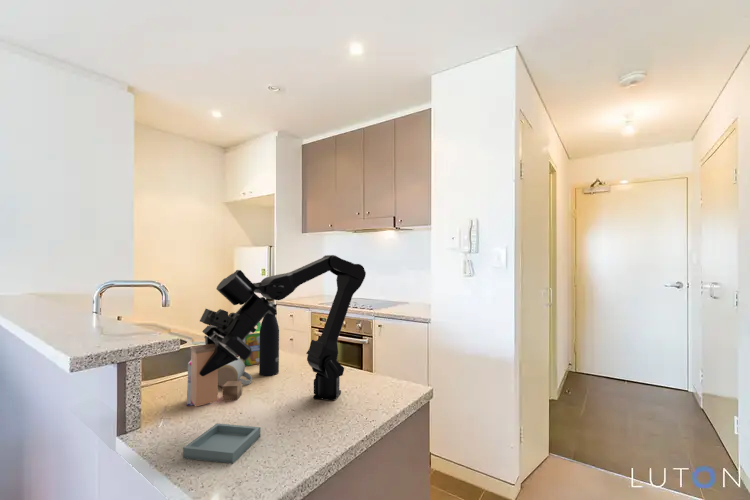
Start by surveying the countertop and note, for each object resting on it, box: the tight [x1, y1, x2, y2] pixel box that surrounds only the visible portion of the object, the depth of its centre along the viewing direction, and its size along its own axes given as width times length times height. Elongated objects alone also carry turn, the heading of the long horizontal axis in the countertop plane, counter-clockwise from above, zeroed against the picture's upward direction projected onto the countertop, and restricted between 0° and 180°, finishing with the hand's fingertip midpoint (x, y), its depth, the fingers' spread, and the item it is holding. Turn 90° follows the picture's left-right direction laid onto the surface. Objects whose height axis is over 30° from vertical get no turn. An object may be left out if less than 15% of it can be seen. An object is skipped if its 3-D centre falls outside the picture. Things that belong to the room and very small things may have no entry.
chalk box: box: [239, 321, 262, 367], centre depth 136 cm, size 9×9×15 cm
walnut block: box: [222, 381, 243, 401], centre depth 100 cm, size 4×4×4 cm
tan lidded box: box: [190, 344, 219, 407], centre depth 80 cm, size 5×5×12 cm
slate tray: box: [182, 422, 262, 465], centre depth 73 cm, size 11×11×2 cm
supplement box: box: [186, 360, 211, 407], centre depth 97 cm, size 6×6×12 cm
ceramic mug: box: [218, 356, 253, 388], centre depth 111 cm, size 11×8×8 cm
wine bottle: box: [258, 298, 280, 377], centre depth 122 cm, size 6×6×30 cm
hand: (197, 372), depth 79 cm, fingers closed on tan lidded box, 4 cm apart
